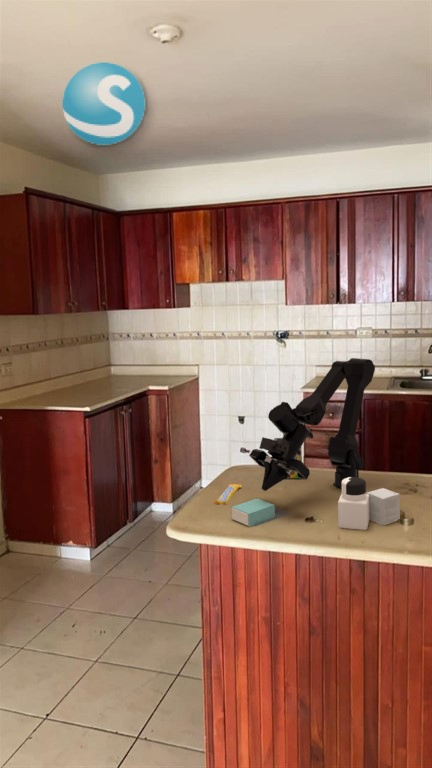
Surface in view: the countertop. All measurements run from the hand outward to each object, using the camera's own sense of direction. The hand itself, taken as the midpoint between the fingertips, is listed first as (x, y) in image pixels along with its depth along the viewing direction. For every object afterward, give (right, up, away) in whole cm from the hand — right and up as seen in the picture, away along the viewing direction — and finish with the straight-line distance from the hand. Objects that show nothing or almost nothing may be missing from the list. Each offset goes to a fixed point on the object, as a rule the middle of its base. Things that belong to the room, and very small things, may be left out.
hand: (263, 489), depth 166 cm
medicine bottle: (+23, -8, -7) cm, 25 cm away
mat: (0, -7, +1) cm, 7 cm away
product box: (+31, -7, -5) cm, 32 cm away
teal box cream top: (+1, -5, +1) cm, 5 cm away
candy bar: (-9, -6, +18) cm, 21 cm away
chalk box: (+11, -1, +36) cm, 37 cm away
